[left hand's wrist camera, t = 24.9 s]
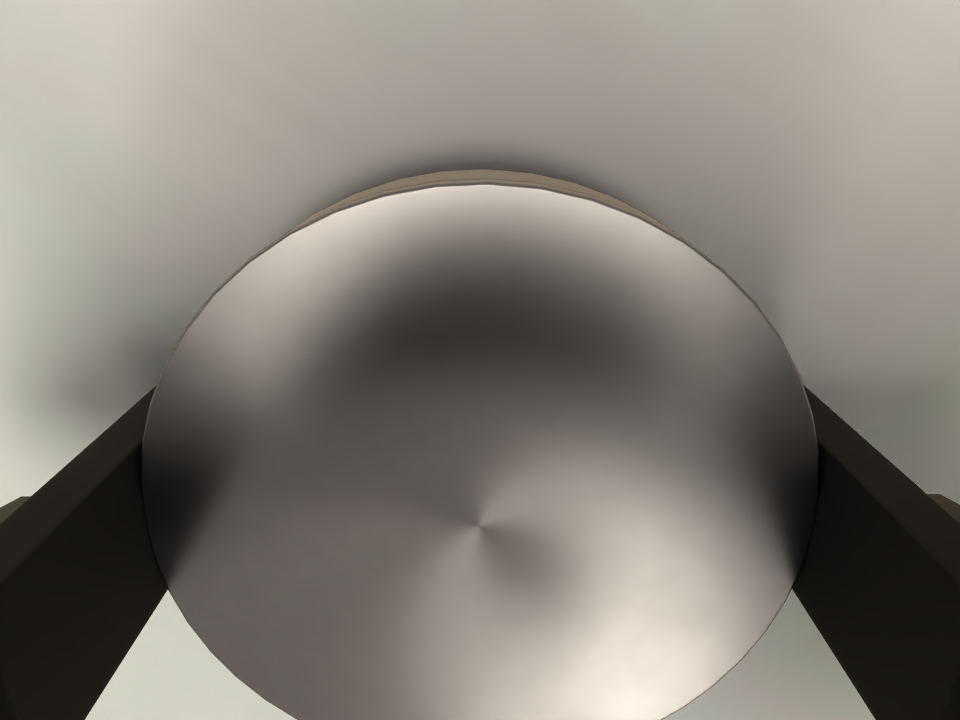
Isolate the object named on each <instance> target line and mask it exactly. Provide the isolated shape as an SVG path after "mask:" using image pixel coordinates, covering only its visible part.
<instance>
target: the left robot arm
mask: <svg viewBox="0 0 960 720" xmlns="http://www.w3.org/2000/svg"><path fill="white" fill-rule="evenodd" d="M803 386H804V385H803ZM156 387H157V386H155V387H154V388H153V389H152V390H151V391H150V392H149V393H148V394H146V395H145V396H144V397H143V398H142V399H141V400H140V401H138V402H137V403H136V404H135V405H134V406H133V407H132V408H131V409H129V410H128V411H127V412H126V413H125V414H124V415H123V416H122V417H120V418H119V419H118V420H117V421H116V422H115V423H114V424H112V425H111V426H110V427H109V428H108V429H107V430H106V431H105V432H103V433H102V434H101V435H100V436H99V437H98V438H97V439H96V440H94V441H93V442H92V443H91V444H90V445H89V446H88V447H87V448H85V449H84V450H83V451H82V452H81V453H80V454H79V455H77V456H76V457H75V458H74V459H73V460H72V461H71V462H70V463H68V464H67V465H66V466H65V467H64V468H63V469H62V470H61V471H59V472H58V473H57V474H56V475H55V476H54V477H53V478H52V479H50V480H49V481H48V482H47V483H46V484H45V485H44V486H42V487H41V488H40V489H39V490H38V491H37V492H36V493H35V494H33V495H32V496H31V497H20V498H18V499H16V500H14V501H12V502H10V503H8V504H6V505H5V506H3V507H1V508H0V720H85V718H86V717H87V715H88V714H89V712H90V710H91V709H92V707H93V706H94V704H95V703H96V701H97V699H98V698H99V696H100V695H101V693H102V692H103V690H104V689H105V687H106V685H107V684H108V682H109V681H110V679H111V678H112V676H113V674H114V673H115V671H116V670H117V668H118V667H119V665H120V663H121V662H122V660H123V659H124V657H125V656H126V654H127V652H128V651H129V649H130V648H131V646H132V645H133V643H134V641H135V640H136V638H137V637H138V635H139V634H140V632H141V630H142V629H143V627H144V626H145V624H146V623H147V621H148V619H149V618H150V616H151V615H152V613H153V612H154V610H155V609H156V607H157V605H158V604H159V602H160V601H161V599H162V598H163V596H164V594H165V593H166V591H167V590H168V588H167V586H166V583H165V581H164V579H163V576H162V574H161V571H160V569H159V567H158V564H157V562H156V560H155V557H154V554H153V550H152V546H151V543H150V539H149V535H148V530H147V526H146V522H145V516H144V510H143V501H142V492H141V483H140V481H141V459H142V441H143V436H144V431H145V427H146V422H147V417H148V412H149V407H150V402H151V400H152V397H153V395H154V392H155V389H156ZM804 389H805V392H806V395H807V398H808V401H809V404H810V408H811V411H812V414H813V419H814V426H815V432H816V439H817V445H818V451H819V496H818V503H817V509H816V516H815V521H814V526H813V532H812V536H811V539H810V543H809V546H808V549H807V552H806V555H805V559H804V562H803V565H802V568H801V570H800V572H799V574H798V576H797V578H796V580H795V583H794V585H793V587H792V589H793V591H794V592H795V594H796V595H797V597H798V599H799V600H800V602H801V603H802V605H803V606H804V608H805V609H806V611H807V613H808V614H809V616H810V617H811V619H812V620H813V622H814V624H815V625H816V627H817V628H818V630H819V631H820V633H821V635H822V636H823V638H824V639H825V641H826V642H827V644H828V646H829V647H830V649H831V650H832V652H833V653H834V655H835V657H836V658H837V660H838V661H839V663H840V664H841V666H842V668H843V669H844V671H845V672H846V674H847V675H848V677H849V679H850V680H851V682H852V683H853V685H854V686H855V688H856V689H857V691H858V693H859V694H860V696H861V697H862V699H863V700H864V702H865V704H866V705H867V707H868V708H869V710H870V711H871V713H872V715H873V716H874V718H875V719H876V720H960V505H959V504H957V503H955V502H953V501H951V500H950V499H948V498H946V497H944V496H942V495H940V494H926V493H925V492H924V491H922V490H921V489H920V488H919V487H918V486H917V485H916V484H915V483H913V482H912V481H911V480H910V479H909V478H908V477H907V476H906V475H904V474H903V473H902V472H901V471H900V470H899V469H898V468H896V467H895V466H894V465H893V464H892V463H891V462H890V461H889V460H887V459H886V458H885V457H884V456H883V455H882V454H881V453H880V452H878V451H877V450H876V449H875V448H874V447H873V446H872V445H871V444H869V443H868V442H867V441H866V440H865V439H864V438H863V437H861V436H860V435H859V434H858V433H857V432H856V431H855V430H854V429H852V428H851V427H850V426H849V425H848V424H847V423H846V422H845V421H843V420H842V419H841V418H840V417H839V416H838V415H837V414H835V413H834V412H833V411H832V410H831V409H830V408H829V407H828V406H826V405H825V404H824V403H823V402H822V401H821V400H820V399H819V398H817V397H816V396H815V395H814V394H813V393H812V392H811V391H810V390H808V389H807V388H806V387H805V386H804Z"/></svg>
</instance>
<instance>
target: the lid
mask: <svg viewBox="0 0 960 720" xmlns="http://www.w3.org/2000/svg"><path fill="white" fill-rule="evenodd" d="M140 483H141V492H142V501H143V510H144V516H145V522H146V526H147V530H148V535H149V539H150V543H151V546H152V550H153V554H154V557H155V560H156V562H157V564H158V567H159V569H160V571H161V574H162V576H163V579H164V581H165V583H166V586H167V588H168V590H169V592H170V594H171V595H172V597H173V599H174V601H175V602H176V604H177V606H178V607H179V609H180V611H181V612H182V614H183V616H184V617H185V619H186V621H187V622H188V624H189V625H190V626H191V627H192V629H193V630H194V631H195V633H196V634H197V635H198V636H199V638H200V639H201V640H202V641H203V643H204V644H205V645H206V646H207V648H208V649H209V650H210V652H211V653H212V654H213V655H215V656H216V657H217V658H218V659H219V660H220V661H221V662H222V663H223V664H224V665H225V666H226V667H227V668H228V669H229V670H230V671H231V672H232V673H233V674H234V675H235V676H236V677H237V678H238V679H239V680H241V681H242V682H243V683H244V684H246V685H247V686H248V687H249V688H251V689H252V690H253V691H255V692H256V693H257V694H258V695H260V696H261V697H262V698H263V699H265V700H266V701H268V702H269V703H271V704H273V705H274V706H276V707H277V708H279V709H281V710H282V711H284V712H286V713H287V714H289V715H290V716H292V717H294V718H295V719H297V720H662V719H664V718H666V717H667V716H669V715H671V714H673V713H674V712H676V711H678V710H679V709H681V708H683V707H685V706H686V705H688V704H689V703H690V702H692V701H693V700H694V699H696V698H697V697H698V696H700V695H701V694H703V693H704V692H705V691H707V690H708V689H709V688H711V687H712V686H713V685H715V684H716V683H717V682H718V681H719V680H720V679H721V678H722V677H724V676H725V675H726V674H727V673H728V672H729V671H730V670H731V669H732V668H733V667H734V666H735V665H736V664H738V663H739V662H740V661H741V660H742V659H743V658H744V656H745V655H746V654H747V653H748V652H749V651H750V649H751V648H752V647H753V646H754V645H755V644H756V642H757V641H758V640H759V639H760V638H761V636H762V635H763V634H764V633H765V632H766V630H767V629H768V627H769V626H770V624H771V623H772V621H773V620H774V618H775V617H776V615H777V613H778V612H779V610H780V609H781V607H782V606H783V604H784V603H785V601H786V599H787V597H788V595H789V593H790V591H791V589H792V587H793V585H794V583H795V580H796V578H797V576H798V574H799V572H800V570H801V568H802V565H803V562H804V559H805V555H806V552H807V549H808V546H809V543H810V539H811V536H812V532H813V526H814V521H815V516H816V509H817V503H818V496H819V451H818V445H817V439H816V432H815V426H814V419H813V414H812V411H811V408H810V404H809V401H808V398H807V395H806V392H805V389H804V386H803V383H802V380H801V376H800V374H799V372H798V370H797V368H796V366H795V364H794V362H793V360H792V358H791V356H790V354H789V353H788V351H787V349H786V347H785V345H784V343H783V341H782V339H781V337H780V336H779V334H778V333H777V331H776V330H775V329H774V327H773V326H772V325H771V323H770V322H769V320H768V319H767V318H766V316H765V315H764V313H763V312H762V311H761V309H760V308H759V307H758V305H757V304H756V302H755V301H754V300H753V299H752V298H751V297H750V296H749V295H748V294H747V293H746V292H745V291H744V290H743V289H742V288H741V287H740V286H739V285H738V284H737V283H736V282H735V281H734V280H733V279H732V278H731V277H730V276H729V275H728V274H727V273H726V272H725V271H724V270H723V269H722V268H721V267H720V266H718V265H717V264H716V263H714V262H713V261H712V260H710V259H709V258H708V257H706V256H705V255H704V254H702V253H701V252H700V251H698V250H697V249H696V248H694V247H693V246H692V245H690V244H689V243H688V242H686V241H685V240H684V239H682V238H681V237H679V236H678V235H676V234H675V233H674V232H672V231H671V230H669V229H668V228H666V227H665V226H664V225H662V224H661V223H659V222H658V221H656V220H655V219H653V218H651V217H649V216H648V215H646V214H644V213H642V212H640V211H638V210H637V209H635V208H633V207H631V206H629V205H627V204H626V203H624V202H622V201H620V200H618V199H616V198H614V197H611V196H608V195H606V194H603V193H600V192H598V191H595V190H593V189H590V188H587V187H585V186H582V185H579V184H577V183H573V182H569V181H564V180H560V179H555V178H551V177H547V176H542V175H538V174H534V173H525V172H513V171H502V170H491V169H480V170H459V171H441V172H435V173H430V174H424V175H419V176H414V177H408V178H403V179H397V180H394V181H391V182H388V183H385V184H382V185H379V186H376V187H373V188H370V189H367V190H364V191H361V192H358V193H355V194H353V195H351V196H349V197H347V198H345V199H343V200H341V201H339V202H337V203H335V204H333V205H331V206H329V207H327V208H325V209H323V210H321V211H319V212H317V213H315V214H314V215H312V216H311V217H309V218H308V219H306V220H305V221H303V222H302V223H301V224H299V225H298V226H296V227H295V228H293V229H292V230H290V231H289V232H287V233H286V234H284V235H283V236H282V237H280V238H279V239H277V240H276V241H274V242H273V243H272V244H270V245H269V246H267V247H266V248H264V249H263V250H261V251H260V252H259V253H257V254H256V255H254V256H253V257H251V258H250V259H249V260H248V261H246V262H245V263H244V264H243V265H242V266H241V267H240V268H239V269H238V270H237V271H236V272H235V273H234V274H232V275H231V276H230V277H229V278H228V279H227V280H226V281H225V282H224V283H223V284H222V285H221V286H220V287H218V288H217V289H216V290H215V291H214V292H213V294H212V295H211V296H210V297H209V299H208V300H207V301H206V302H205V304H204V305H203V306H202V307H201V309H200V310H199V311H198V312H197V314H196V315H195V316H194V317H193V319H192V320H191V321H190V323H189V324H188V325H187V326H186V328H185V330H184V331H183V333H182V335H181V337H180V339H179V340H178V342H177V344H176V346H175V347H174V349H173V351H172V353H171V354H170V356H169V358H168V360H167V361H166V363H165V365H164V368H163V371H162V373H161V376H160V379H159V381H158V384H157V387H156V389H155V392H154V395H153V397H152V400H151V402H150V407H149V412H148V417H147V422H146V427H145V431H144V436H143V441H142V459H141V481H140Z"/></svg>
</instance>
